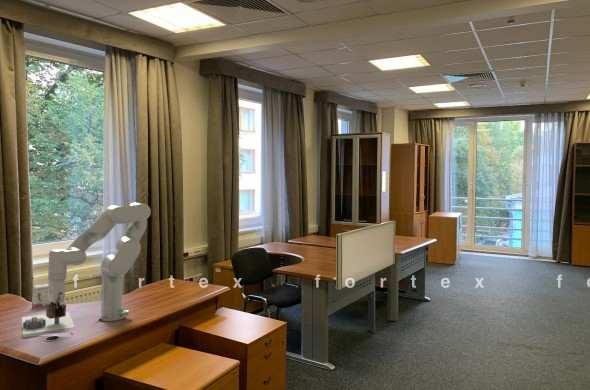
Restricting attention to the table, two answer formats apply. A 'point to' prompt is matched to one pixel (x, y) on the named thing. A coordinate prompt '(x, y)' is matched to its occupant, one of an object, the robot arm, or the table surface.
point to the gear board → (44, 324)
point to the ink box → (40, 295)
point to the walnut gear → (51, 310)
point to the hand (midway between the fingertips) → (56, 313)
